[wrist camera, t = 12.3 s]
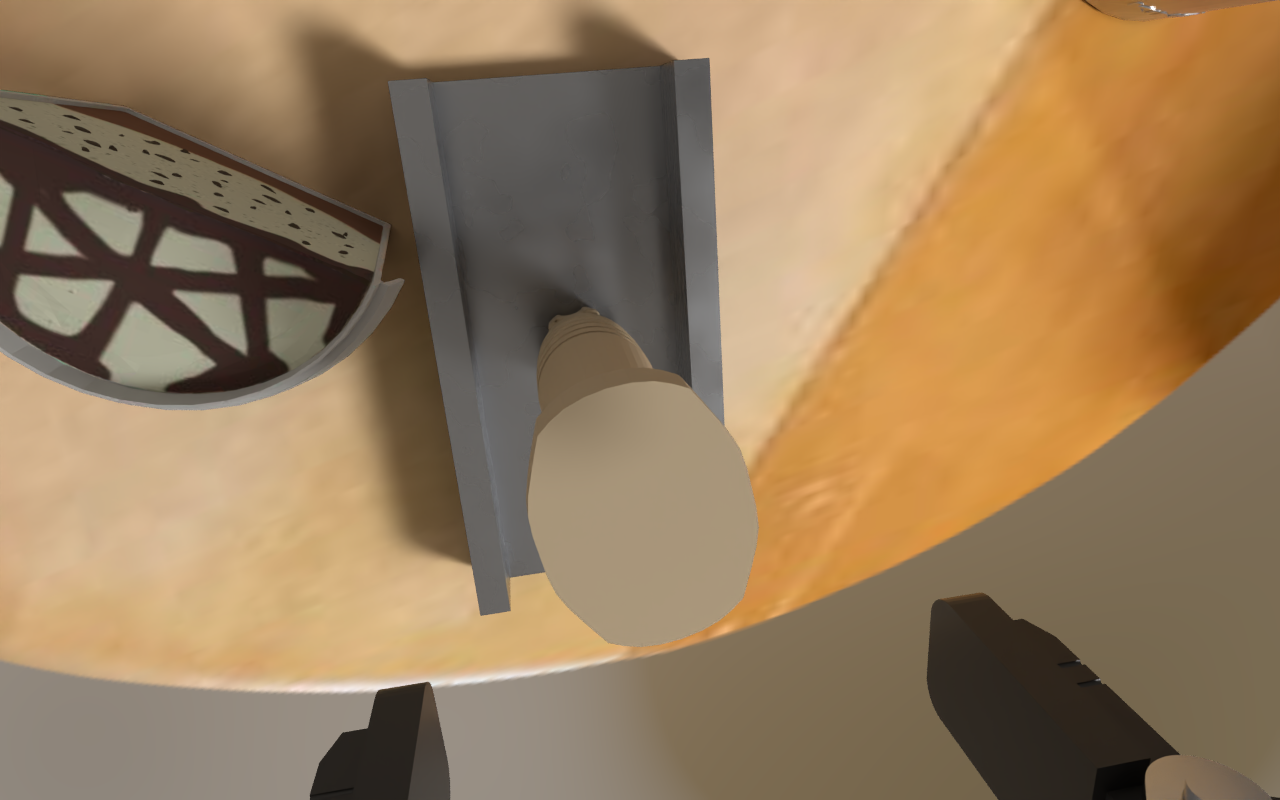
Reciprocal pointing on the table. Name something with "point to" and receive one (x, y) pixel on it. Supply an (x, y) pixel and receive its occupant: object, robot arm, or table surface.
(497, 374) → the track
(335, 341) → the food container
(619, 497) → the handle
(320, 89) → the table surface
